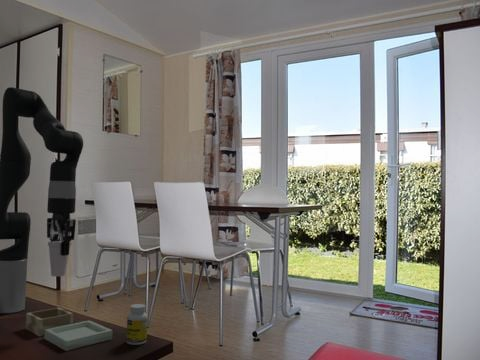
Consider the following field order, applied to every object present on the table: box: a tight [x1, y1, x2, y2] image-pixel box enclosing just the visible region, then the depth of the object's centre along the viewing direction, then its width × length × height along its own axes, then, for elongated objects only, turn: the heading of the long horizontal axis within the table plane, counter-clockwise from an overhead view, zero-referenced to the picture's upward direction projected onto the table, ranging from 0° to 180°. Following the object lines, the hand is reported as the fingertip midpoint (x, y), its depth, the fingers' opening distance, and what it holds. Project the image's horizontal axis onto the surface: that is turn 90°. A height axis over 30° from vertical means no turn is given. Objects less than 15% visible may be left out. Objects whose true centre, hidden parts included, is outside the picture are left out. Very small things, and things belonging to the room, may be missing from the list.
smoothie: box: [47, 240, 72, 277], centre depth 120 cm, size 6×6×14 cm
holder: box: [25, 307, 74, 337], centre depth 121 cm, size 10×10×4 cm
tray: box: [43, 320, 114, 352], centre depth 113 cm, size 13×13×2 cm
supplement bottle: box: [126, 303, 149, 346], centre depth 112 cm, size 5×5×10 cm
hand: (59, 254), depth 120 cm, fingers closed on smoothie, 6 cm apart
